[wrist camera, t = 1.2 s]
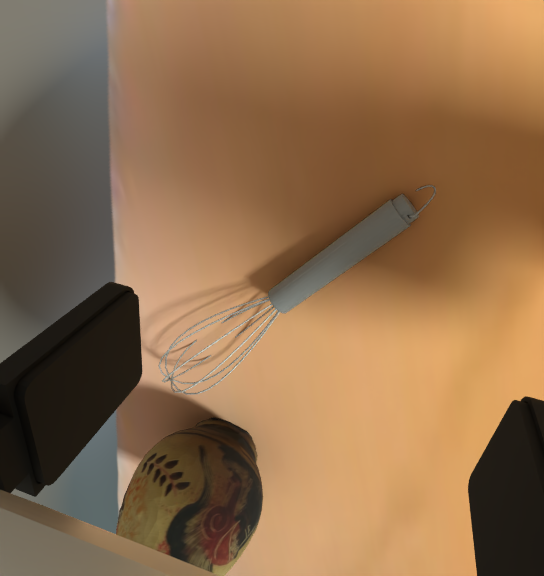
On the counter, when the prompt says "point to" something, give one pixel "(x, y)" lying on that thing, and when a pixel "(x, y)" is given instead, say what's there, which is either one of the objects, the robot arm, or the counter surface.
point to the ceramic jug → (196, 496)
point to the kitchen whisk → (320, 270)
